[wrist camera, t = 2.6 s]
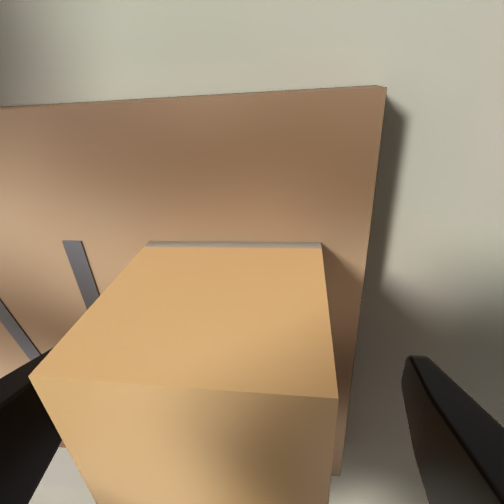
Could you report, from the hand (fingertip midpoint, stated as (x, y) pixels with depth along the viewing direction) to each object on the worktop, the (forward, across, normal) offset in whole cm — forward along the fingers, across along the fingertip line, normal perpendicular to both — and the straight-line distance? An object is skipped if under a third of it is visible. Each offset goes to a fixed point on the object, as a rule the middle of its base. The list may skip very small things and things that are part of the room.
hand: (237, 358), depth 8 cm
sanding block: (+1, 0, 0) cm, 1 cm away
